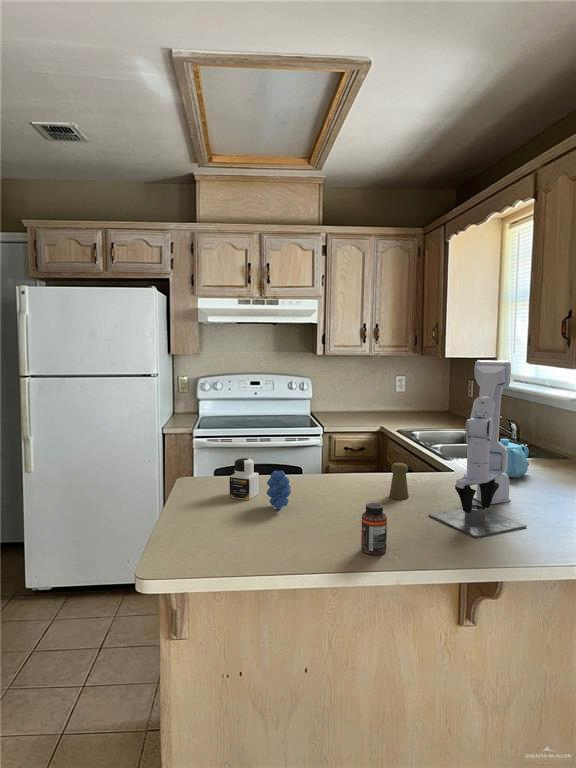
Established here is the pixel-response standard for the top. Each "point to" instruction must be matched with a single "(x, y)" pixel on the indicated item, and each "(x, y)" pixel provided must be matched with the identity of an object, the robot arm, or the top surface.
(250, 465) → the medicine bottle
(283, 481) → the grapes
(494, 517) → the stand
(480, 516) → the ring
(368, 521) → the supplement bottle
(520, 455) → the decorative pot
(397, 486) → the cork
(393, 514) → the top surface
